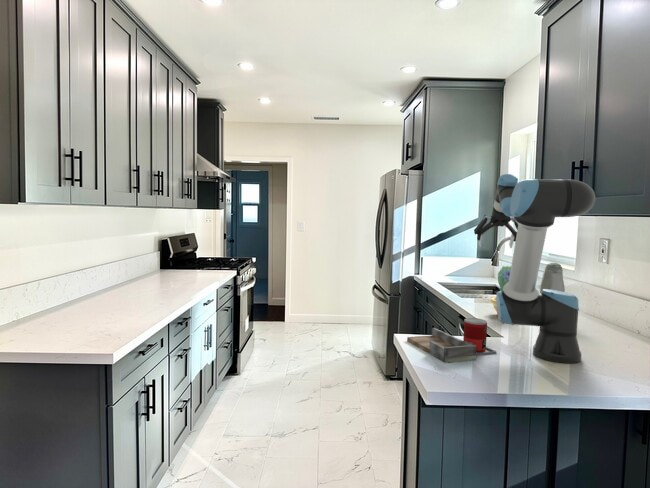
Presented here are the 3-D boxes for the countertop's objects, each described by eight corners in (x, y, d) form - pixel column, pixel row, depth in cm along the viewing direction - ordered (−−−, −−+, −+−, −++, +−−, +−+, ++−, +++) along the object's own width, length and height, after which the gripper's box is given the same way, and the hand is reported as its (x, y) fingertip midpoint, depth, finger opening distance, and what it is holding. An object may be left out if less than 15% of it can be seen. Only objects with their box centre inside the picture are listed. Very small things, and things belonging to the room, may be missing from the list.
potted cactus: (484, 314, 218) (486, 265, 216) (499, 310, 228) (501, 263, 226) (513, 320, 206) (516, 268, 205) (528, 316, 216) (531, 266, 215)
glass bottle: (560, 324, 201) (564, 264, 199) (536, 320, 207) (540, 262, 206) (564, 320, 209) (567, 263, 207) (541, 317, 215) (544, 261, 213)
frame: (497, 353, 155) (497, 351, 155) (472, 355, 152) (473, 354, 152) (476, 343, 167) (476, 342, 167) (453, 345, 164) (453, 344, 163)
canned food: (487, 353, 155) (488, 323, 154) (464, 351, 156) (465, 322, 156) (484, 347, 162) (485, 318, 162) (461, 345, 164) (463, 317, 163)
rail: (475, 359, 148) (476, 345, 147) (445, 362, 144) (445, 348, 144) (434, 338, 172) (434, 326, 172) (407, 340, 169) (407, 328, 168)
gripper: (531, 203, 188) (522, 241, 201) (471, 202, 192) (466, 239, 206) (535, 213, 182) (525, 251, 195) (473, 212, 187) (467, 249, 200)
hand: (494, 245), depth 201 cm, fingers open, 13 cm apart
